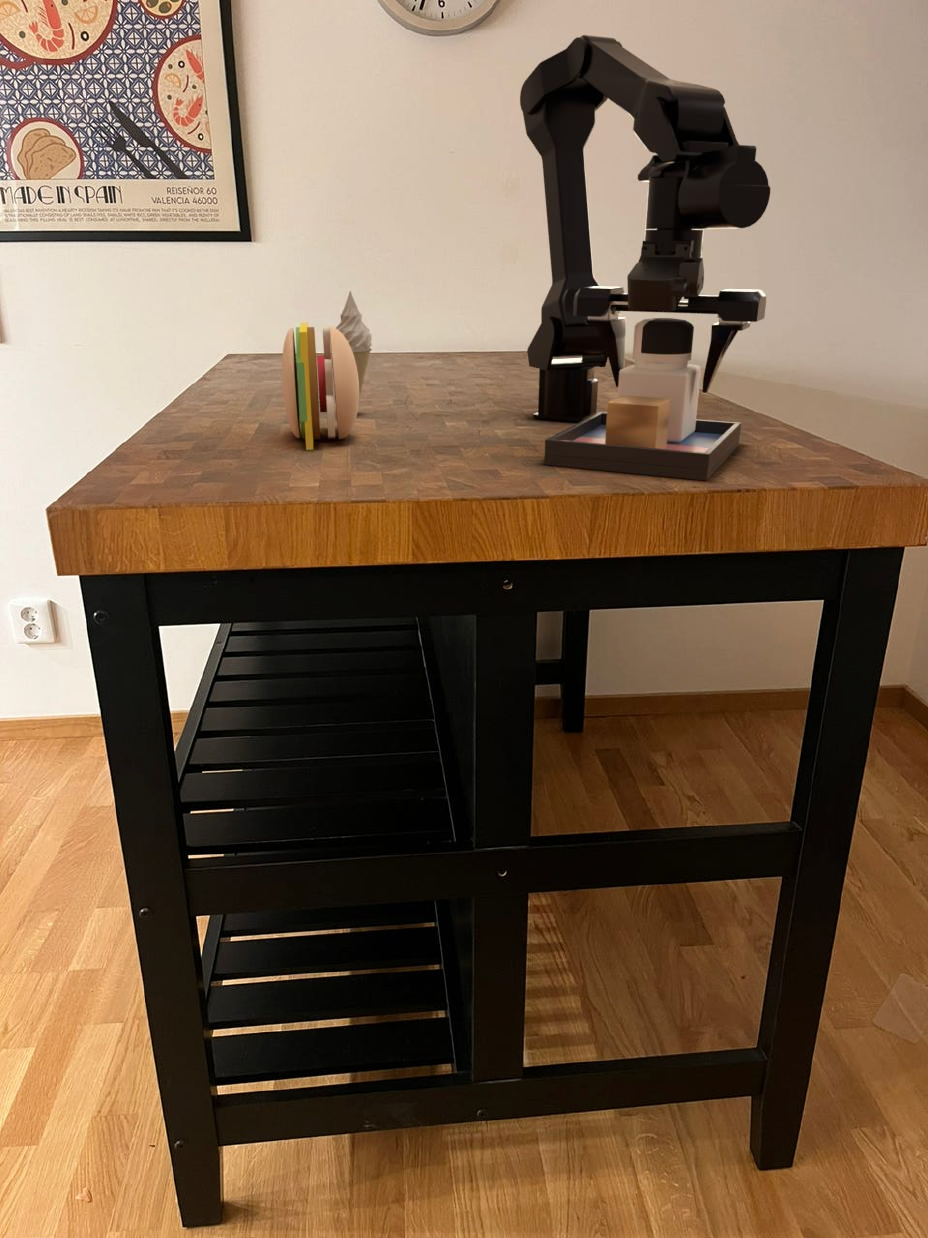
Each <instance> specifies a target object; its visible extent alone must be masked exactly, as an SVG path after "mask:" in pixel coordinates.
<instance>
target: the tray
mask: <svg viewBox="0 0 928 1238" xmlns="http://www.w3.org/2000/svg"><path fill="white" fill-rule="evenodd" d="M606 421H607V412H603V411H597V412H596V414H594V415H592V416H590V417H589V418H587V419H585V420H583V421H578V422H577V423H574V424H573V425H571V426H569V427H567V428H565V429H564V430H561V431H559V432H558V433H556V434H554V435H551V436H550V437H548V438H546V439H545V440H544V441H545V442H544V463H543V464H544V465H545V466H554V467H565V468H576V469H583V470H593V471H603V472H615V473H625V474H634V475H645V476H653V477H654V476H655V477H664V478H665V477H666V478H674V479H675V478H676V479H685V480H694V481H708V480H709V479H710V477H711V476H713V474H714V473H715V472H716V471H717V470H718V469H719V468H720V467H721V466H722V464H723V463H724V462H725V461H726V460H727V459H728V458H729V457H730V456H731V455H732V453H734V451H735V450H736V449H737V448H738V447H739V445H740V437H741V436H740V435H741V428H742V422H739V421H738V422H736V421H722V420H710V419H697V418H696V426H695V431H694V432H693V433H692V434H690V435H689V436H688V437H686V438H685V439H684V440H683V441H681V442H680V443H674V442H667V447H666V449H658V448H647V447H636V446H624V445H613V444H605V438H606Z"/></svg>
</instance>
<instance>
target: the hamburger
mask: <svg viewBox="0 0 928 1238" xmlns="http://www.w3.org/2000/svg"><path fill="white" fill-rule="evenodd" d="M299 325H300V326H296V327H295V332H294V327H291V328H289V329H288V331H287V332H286V335H285V338H284V343H283V349H282V355H281V385H282V394H283V395H282V396H283V402H284V403H283V404H284V408H285V413H286V418H287V421H288V424H289V427H290V430H291V432H292V433H293V435H294V436H295V438H297V439H301V437H302V440H305V450H306V451H313V450H314V440H321V424H320V413H326V420H327V421H326V422H327V438H328V440H336V426H337V435H338V440H341V439H344V438H346V437H347V436H348V435H349V434H350V433H351V431H352V430H353V427H354V425H355V423H356V420H357V417H358V412H359V405H360V404H359V403H360V399H359V379H358V371H357V366H356V362H355V358H354V355H353V352H352V350H351V347H350V345H349V343H348V341H347V339H346V338H345V336H344V335H343V334H342V333H341V332H340V331H339V330H337V329H336V327H334V326H327V325H325V326H324V325H323V326H322V342H323V343H322V344H323V345H322V346H323V355H322V354H321V355H320V354H318V355H317V348H316V331H315V327H314V326H309V323H308V322H300V324H299ZM335 413H336V414H335ZM335 415H336V420H335ZM335 421H336V422H335ZM336 424H337V425H336Z"/></svg>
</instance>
